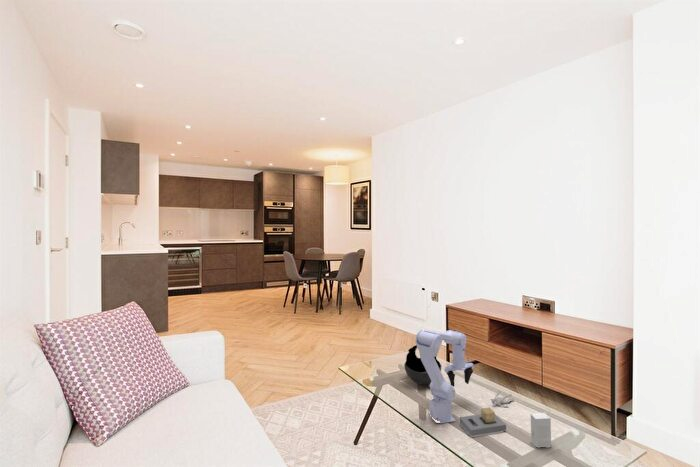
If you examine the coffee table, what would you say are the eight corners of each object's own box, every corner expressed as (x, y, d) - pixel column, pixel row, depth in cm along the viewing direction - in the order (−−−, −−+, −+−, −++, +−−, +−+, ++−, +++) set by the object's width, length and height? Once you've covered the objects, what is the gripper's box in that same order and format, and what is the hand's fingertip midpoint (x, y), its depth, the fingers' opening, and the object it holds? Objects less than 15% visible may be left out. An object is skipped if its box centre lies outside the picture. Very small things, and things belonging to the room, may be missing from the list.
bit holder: (471, 437, 153) (471, 430, 153) (459, 423, 163) (459, 417, 163) (506, 431, 156) (506, 424, 156) (492, 418, 166) (492, 412, 166)
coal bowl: (445, 390, 193) (444, 355, 192) (407, 392, 193) (406, 357, 192) (437, 374, 213) (436, 342, 212) (402, 375, 213) (401, 343, 212)
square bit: (486, 429, 157) (485, 413, 157) (481, 424, 161) (481, 408, 161) (494, 428, 158) (494, 412, 158) (489, 422, 162) (489, 407, 162)
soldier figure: (517, 406, 177) (502, 406, 171) (509, 410, 180) (494, 410, 174) (509, 390, 182) (494, 389, 176) (502, 394, 185) (487, 393, 179)
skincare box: (545, 441, 149) (545, 412, 148) (551, 447, 145) (551, 418, 144) (530, 441, 149) (530, 413, 148) (536, 448, 144) (535, 419, 144)
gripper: (449, 362, 171) (450, 390, 172) (476, 357, 175) (477, 385, 176) (441, 356, 178) (442, 383, 179) (468, 352, 181) (469, 379, 182)
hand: (459, 384), depth 178 cm, fingers open, 7 cm apart
